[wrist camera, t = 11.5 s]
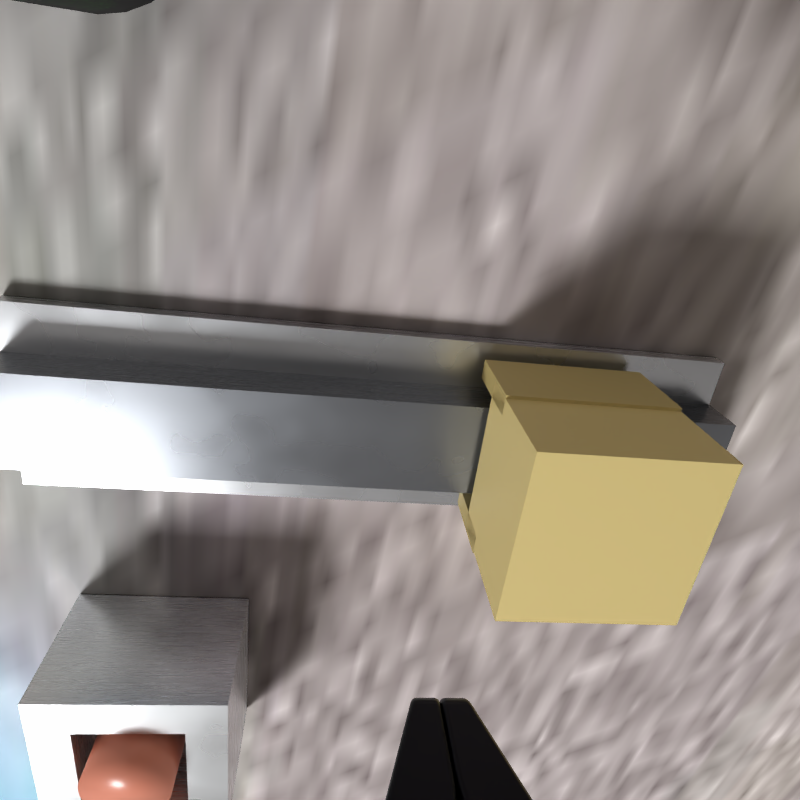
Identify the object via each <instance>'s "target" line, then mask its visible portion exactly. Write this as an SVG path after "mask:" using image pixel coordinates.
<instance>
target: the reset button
mask: <svg viewBox="0 0 800 800" xmlns="http://www.w3.org/2000/svg"><path fill="white" fill-rule="evenodd" d="M184 744H185V734H98V735H97V737H96V740H95V742H94V745H93V747H92V750H91V752H90V755H89V757H88V760H87V762H86V765H85V767H84V770H83V772H82V775H81V777H80V780H79V782H78V793H79V796H80V798H81V799H82V800H170V798H171V795H172V791H173V787H174V783H175V779H176V775H177V771H178V767H179V763H180V759H181V756H182V752H183V748H184Z"/></svg>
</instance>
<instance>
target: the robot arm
mask: <svg viewBox="0 0 800 800" xmlns="http://www.w3.org/2000/svg"><path fill="white" fill-rule="evenodd" d="M386 800H532V799H531V797H530V795H529V794H528V792H527V791H526V789H525V788H524V786H523V784H522V783H521V781H520V780H519V778H518V777H517V775H516V773H515V772H514V770H513V769H512V767H511V766H510V764H509V762H508V761H507V759H506V758H505V756H504V755H503V753H502V751H501V750H500V748H499V747H498V745H497V744H496V742H495V741H494V739H493V737H492V736H491V734H490V733H489V731H488V730H487V728H486V726H485V725H484V723H483V722H482V720H481V719H480V717H479V715H478V714H477V712H476V711H475V709H474V708H473V706H472V705H471V703H470V702H469V701H468V700H467V699H464V698H443V699H441V700H440V702H439V700H438V699H436V698H414V699H413V700H412V701H411V704H410V707H409V711H408V715H407V719H406V723H405V727H404V730H403V734H402V738H401V742H400V746H399V750H398V753H397V757H396V761H395V765H394V769H393V773H392V777H391V780H390V784H389V788H388V792H387V796H386Z"/></svg>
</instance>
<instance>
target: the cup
mask: <svg viewBox="0 0 800 800" xmlns="http://www.w3.org/2000/svg"><path fill="white" fill-rule="evenodd" d="M14 1H20V2H27V3H33V4H39V5H45V6H51V7H57V8H63V9H70V10H76V11H82V12H88V13H94V14H105V13H119V12H127V11H130V10H132V9H135V8H138V7H140V6H143V5H145V4H148V3H151V2H152V1H154V0H14Z"/></svg>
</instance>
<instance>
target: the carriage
mask: <svg viewBox="0 0 800 800" xmlns="http://www.w3.org/2000/svg"><path fill="white" fill-rule="evenodd" d="M481 378H482V380H483V382H484V383H485V385H486V387H487V389H488V391H489V393H490V394H491V396H492V398H491V403H490V408H489V413H488V418H487V423H486V428H485V433H484V438H483V443H482V448H481V453H480V458H479V463H478V468H477V473H476V477H475V482H474V487H473V492H472V494H471V493H459V498H458V505H459V508H460V512H461V515H462V518H463V522H464V525H465V528H466V532H467V535H468V538H469V541H470V545H471V548H472V551H473V553H475V557H476V560H477V563H478V566H479V570H480V573H481V576H482V580H483V583H484V586H485V589H486V593H487V596H488V599H489V602H490V606H491V609H492V612H493V616H494V619H495V621H515V622H557V623H600V624H642V625H677V623H678V620H679V618H680V615H681V613H682V611H683V608H684V606H685V603H686V601H687V599H688V596H689V594H690V591H691V589H692V587H693V584H694V582H695V579H696V577H697V575H698V572H699V570H700V567H701V565H702V563H703V560H704V558H705V555H706V553H707V551H708V548H709V546H710V544H711V541H712V539H713V536H714V534H715V532H716V529H717V527H718V524H719V522H720V520H721V517H722V515H723V512H724V510H725V508H726V505H727V503H728V500H729V498H730V496H731V493H732V491H733V488H734V486H735V484H736V481H737V479H738V476H739V474H740V472H741V469H742V467H743V464H742V463H741V462H740V461H738V460H737V459H736V458H735V457H734V456H733V455H731V454H730V453H729V452H728V451H727V450H726V449H724V448H723V447H722V446H721V445H720V444H719V443H717V442H716V441H715V440H714V439H713V438H711V437H710V436H709V435H708V434H707V433H706V432H704V431H703V430H702V429H701V428H700V427H699V426H697V425H696V424H695V423H694V422H693V421H692V420H690V419H689V418H688V417H687V416H686V415H685V414H683V413H682V412H681V411H682V408H681V407H680V406H679V405H678V404H677V403H675V402H674V401H673V400H672V399H671V398H669V397H668V396H667V395H666V394H665V393H664V392H662V391H661V390H660V389H659V388H658V387H656V386H655V385H654V384H653V383H652V382H650V381H649V380H648V379H647V378H646V377H645V376H643V375H642V374H641V373H640V372H630V371H618V370H606V369H594V368H582V367H570V366H558V365H545V364H533V363H521V362H509V361H497V360H485V362H484V367H483V372H482V377H481Z"/></svg>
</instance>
